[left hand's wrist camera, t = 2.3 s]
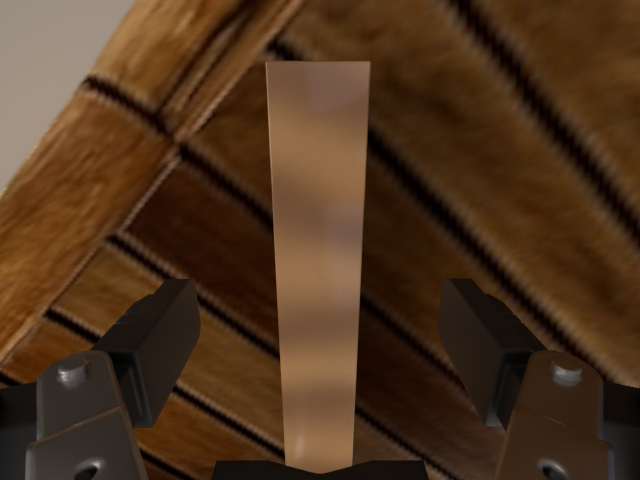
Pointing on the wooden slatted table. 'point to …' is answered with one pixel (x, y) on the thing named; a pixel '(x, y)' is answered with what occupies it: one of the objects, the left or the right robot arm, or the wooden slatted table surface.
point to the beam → (318, 249)
